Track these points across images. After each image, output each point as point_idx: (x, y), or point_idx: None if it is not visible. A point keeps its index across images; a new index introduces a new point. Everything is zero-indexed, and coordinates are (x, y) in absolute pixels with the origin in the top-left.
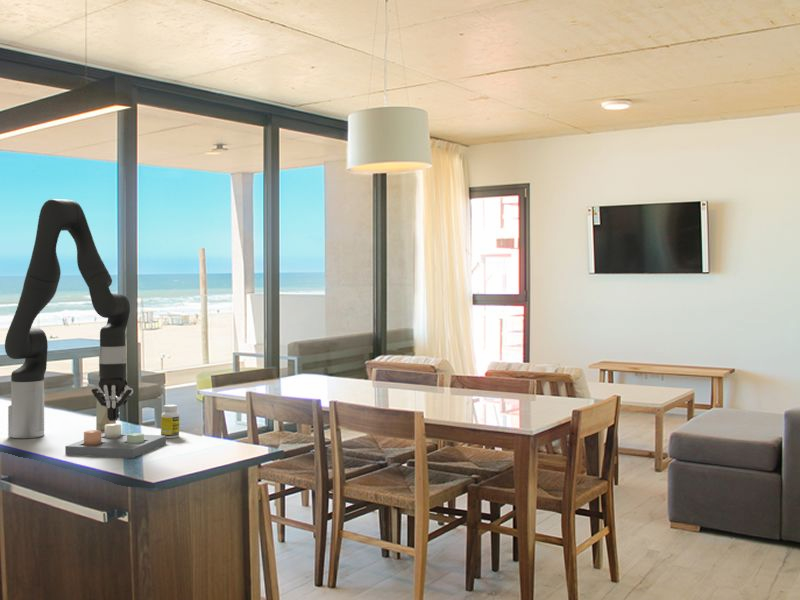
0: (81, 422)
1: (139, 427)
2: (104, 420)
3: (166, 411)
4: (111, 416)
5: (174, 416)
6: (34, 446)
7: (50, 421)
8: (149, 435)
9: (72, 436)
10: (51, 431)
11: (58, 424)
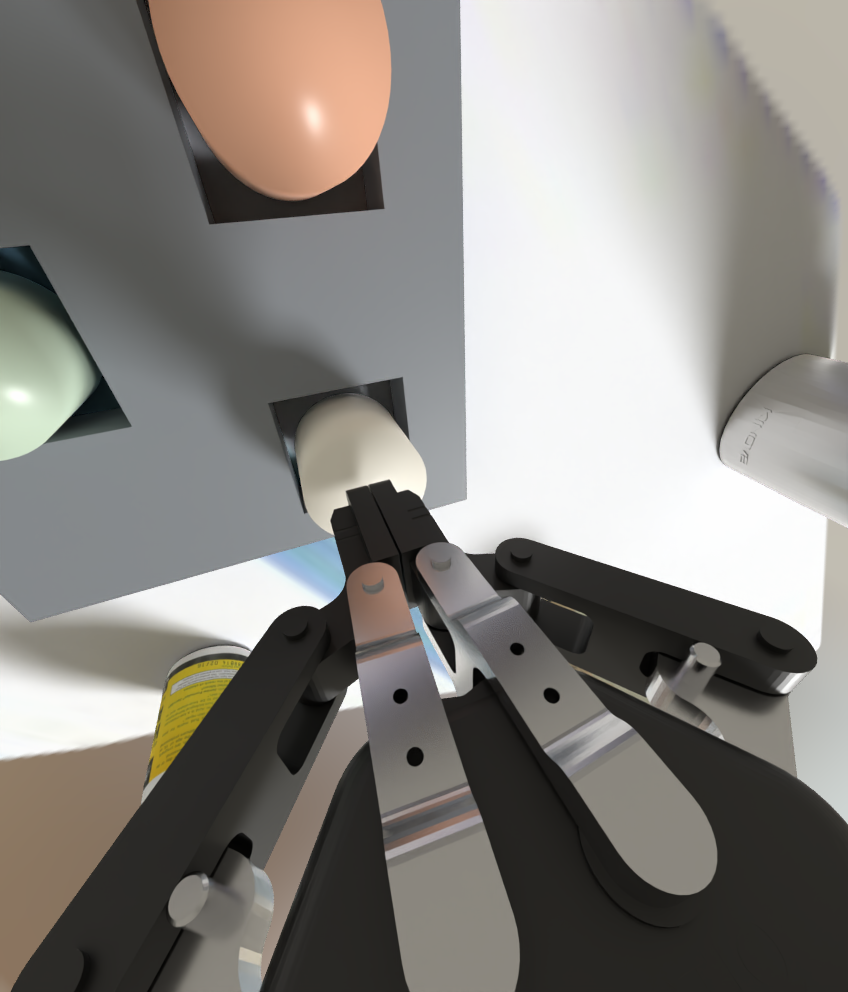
0: None
1: None
2: None
3: None
4: (374, 504)
5: (143, 795)
6: (718, 213)
7: (728, 594)
8: (150, 573)
9: (616, 485)
10: (704, 511)
11: (703, 583)
